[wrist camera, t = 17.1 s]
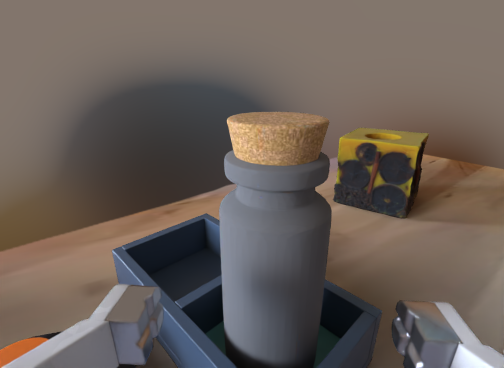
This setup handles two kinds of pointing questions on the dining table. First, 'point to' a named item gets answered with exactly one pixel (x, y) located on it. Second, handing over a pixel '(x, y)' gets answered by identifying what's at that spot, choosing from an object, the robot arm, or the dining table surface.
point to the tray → (211, 300)
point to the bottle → (274, 239)
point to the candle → (379, 170)
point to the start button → (19, 349)
